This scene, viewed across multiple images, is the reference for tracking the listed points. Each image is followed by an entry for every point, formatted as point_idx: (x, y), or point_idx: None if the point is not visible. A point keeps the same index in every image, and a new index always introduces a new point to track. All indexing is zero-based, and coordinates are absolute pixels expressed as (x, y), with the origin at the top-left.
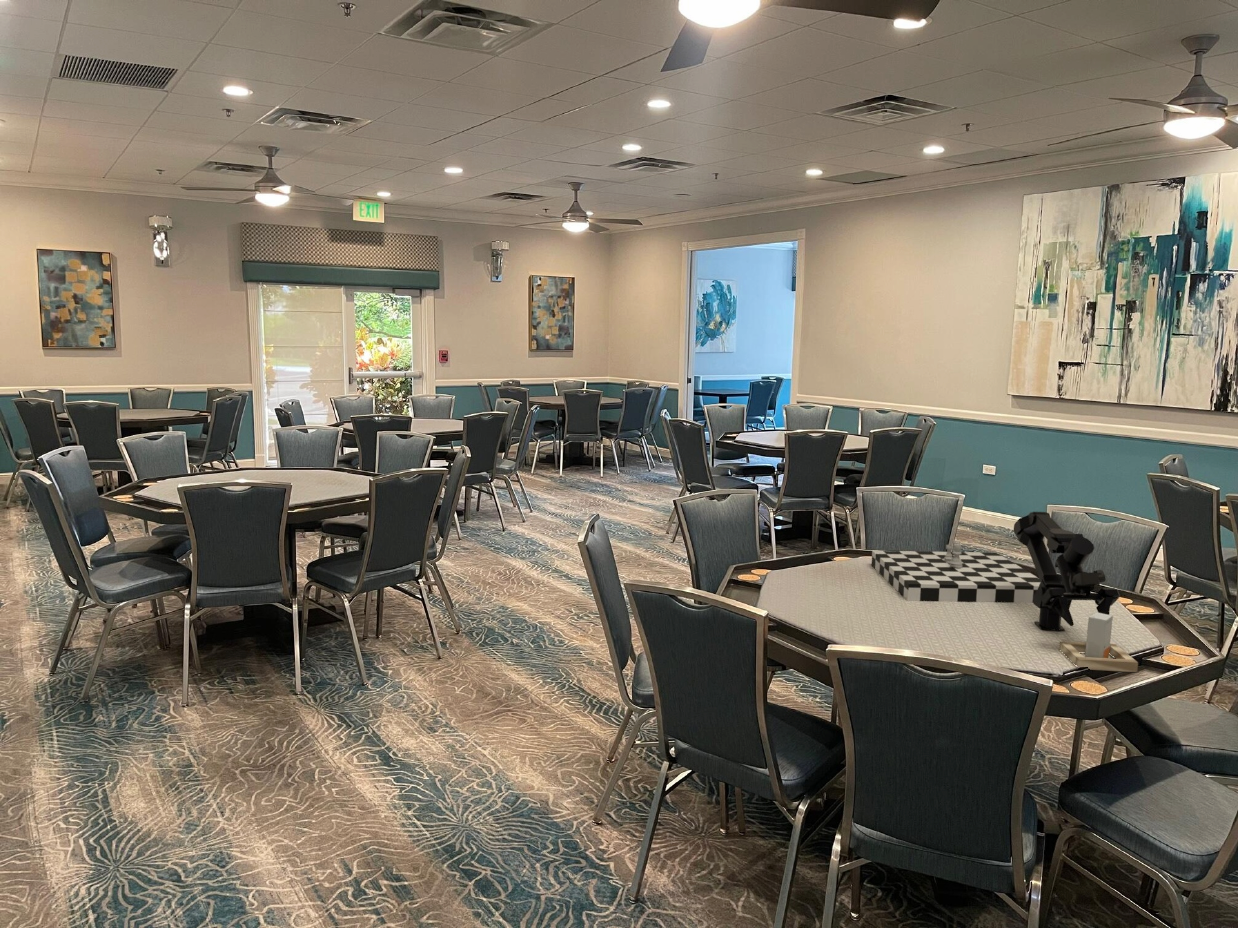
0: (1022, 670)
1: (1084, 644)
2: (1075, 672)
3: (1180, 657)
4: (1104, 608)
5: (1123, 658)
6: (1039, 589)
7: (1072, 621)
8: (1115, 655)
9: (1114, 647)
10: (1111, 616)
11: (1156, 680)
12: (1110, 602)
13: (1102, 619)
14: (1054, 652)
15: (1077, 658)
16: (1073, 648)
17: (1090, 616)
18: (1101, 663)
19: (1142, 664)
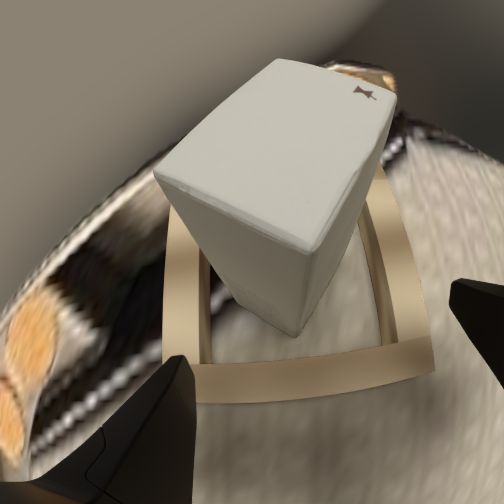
0: (478, 154)
1: (330, 360)
2: None
3: (18, 361)
4: (122, 473)
5: None
6: None
7: (470, 285)
8: (205, 300)
9: (186, 345)
10: (179, 144)
11: (165, 154)
12: (10, 485)
13: (299, 62)
14: (434, 334)
15: (381, 169)
16: (393, 276)
17: (387, 101)
18: None
19: (131, 277)
